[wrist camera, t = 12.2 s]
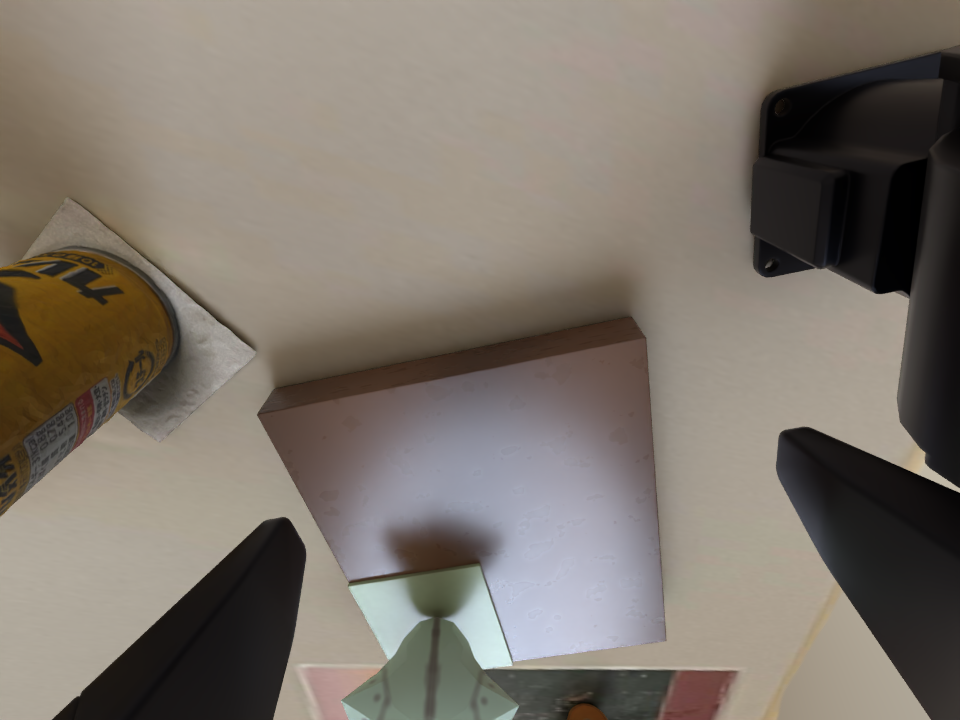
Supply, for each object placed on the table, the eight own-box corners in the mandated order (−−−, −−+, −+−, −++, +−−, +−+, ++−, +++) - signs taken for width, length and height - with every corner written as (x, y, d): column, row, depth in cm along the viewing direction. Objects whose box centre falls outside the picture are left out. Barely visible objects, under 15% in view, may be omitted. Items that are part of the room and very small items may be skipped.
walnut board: (631, 316, 20) (647, 339, 18) (655, 609, 30) (667, 644, 28) (273, 388, 22) (254, 417, 20) (404, 644, 31) (399, 680, 29)
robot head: (513, 601, 26) (524, 753, 20) (506, 646, 28) (514, 796, 22) (362, 595, 26) (327, 747, 20) (365, 641, 28) (335, 792, 22)
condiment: (71, 195, 18) (-511, 346, 7) (259, 351, 21) (40, 612, 10) (-18, 313, 20) (-561, 557, 10) (163, 438, 23) (-95, 724, 13)
